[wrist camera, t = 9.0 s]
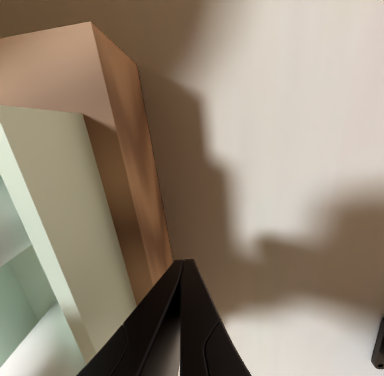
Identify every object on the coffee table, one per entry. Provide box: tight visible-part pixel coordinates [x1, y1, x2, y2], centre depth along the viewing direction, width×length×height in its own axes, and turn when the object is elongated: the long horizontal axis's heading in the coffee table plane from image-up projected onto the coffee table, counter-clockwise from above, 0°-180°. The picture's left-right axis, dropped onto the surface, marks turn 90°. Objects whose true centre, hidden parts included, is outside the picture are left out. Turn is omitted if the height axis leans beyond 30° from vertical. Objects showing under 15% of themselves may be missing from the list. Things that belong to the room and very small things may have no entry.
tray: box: [0, 105, 137, 376], centre depth 8 cm, size 14×6×5 cm, turn 7°
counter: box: [0, 21, 173, 305], centre depth 12 cm, size 20×14×8 cm
